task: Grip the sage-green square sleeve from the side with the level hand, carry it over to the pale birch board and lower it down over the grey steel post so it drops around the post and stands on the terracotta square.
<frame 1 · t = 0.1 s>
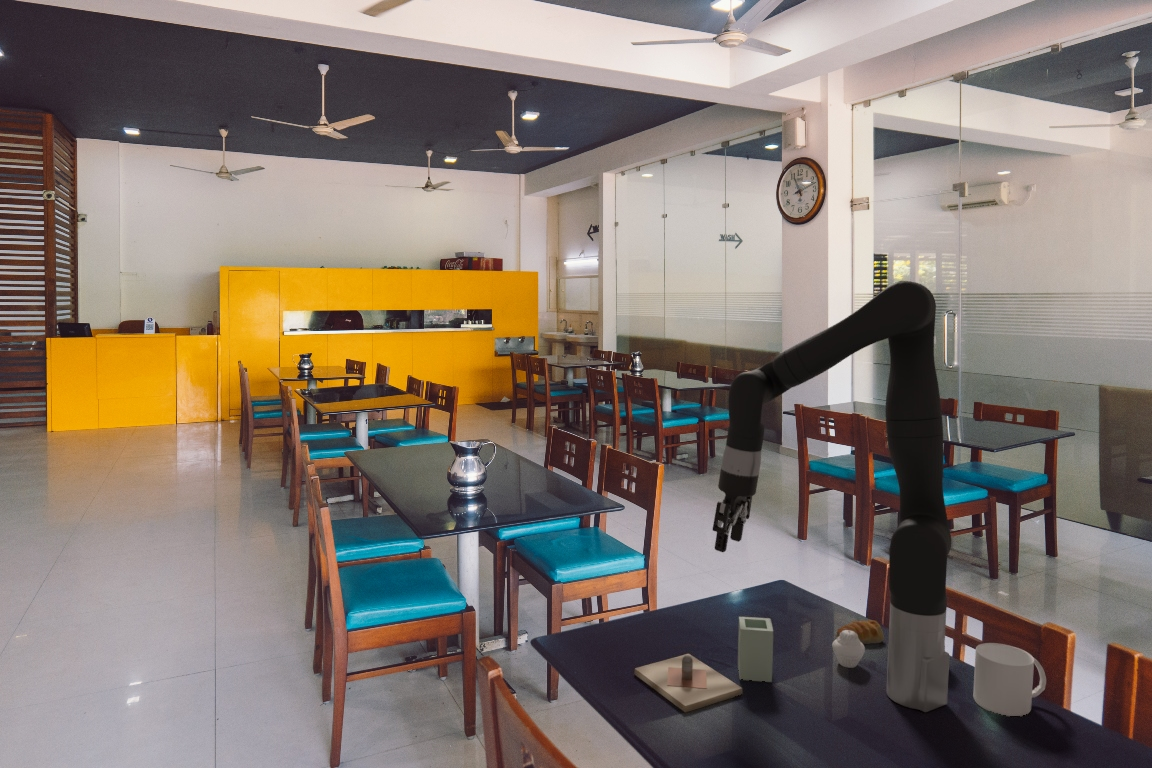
hand: (728, 545, 155), 22 cm above the table, tool pointing down, fingers open, 8 cm apart
post board: (686, 684, 143), on the table
mug: (1010, 705, 136), on the table
vase: (924, 663, 152), on the table
sleeve: (754, 673, 147), on the table
pastry: (861, 640, 163), on the table
white piece: (847, 665, 151), on the table
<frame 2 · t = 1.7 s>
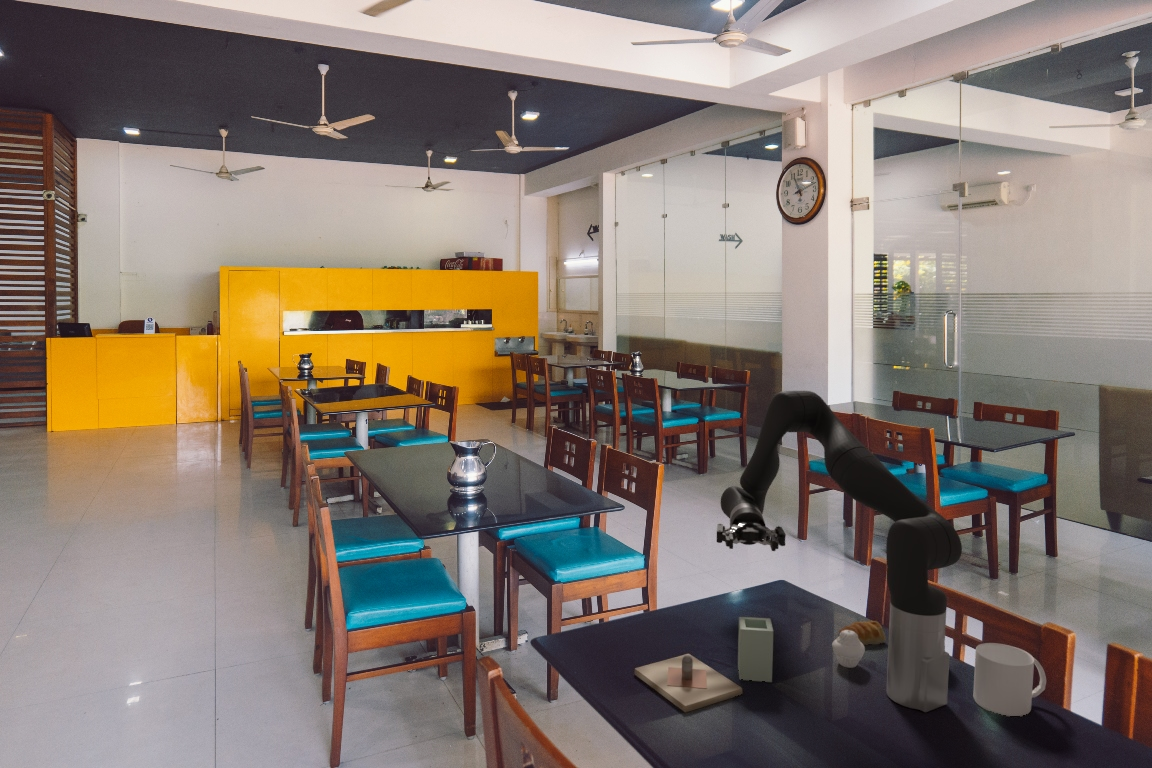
hand: (752, 545, 156), 22 cm above the table, tool horizontal, fingers open, 8 cm apart
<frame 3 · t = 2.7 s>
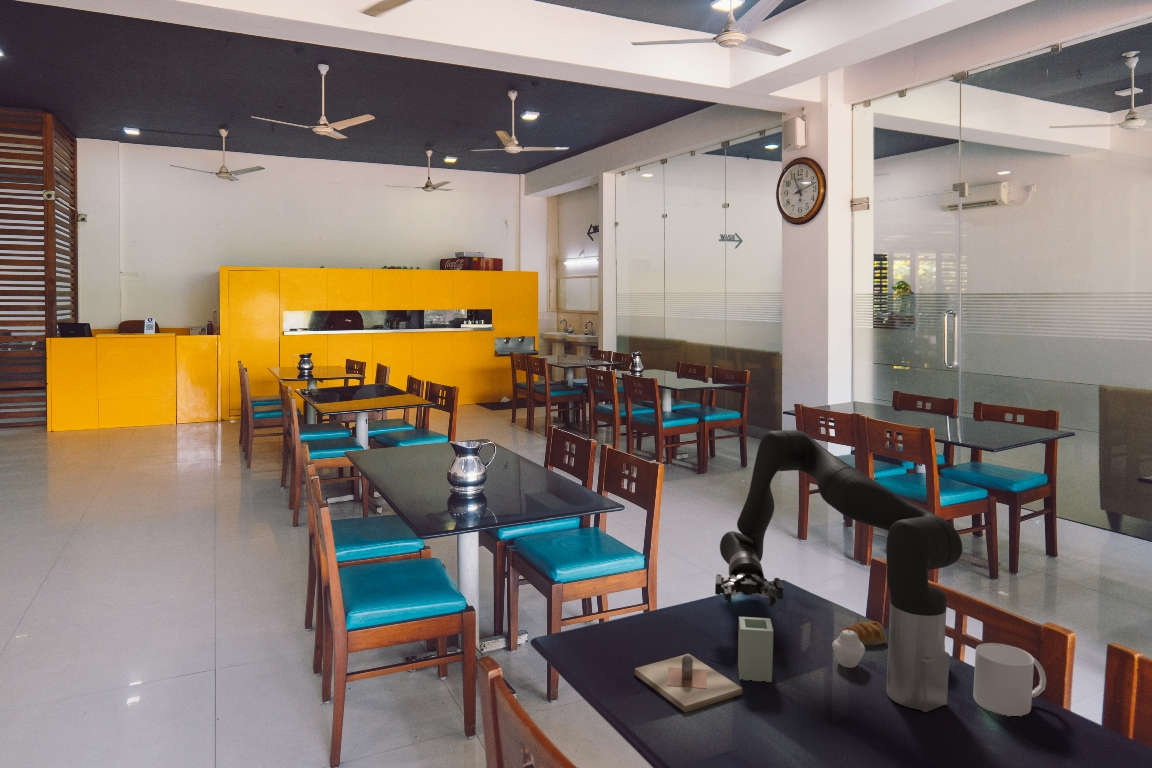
hand: (750, 599, 157), 10 cm above the table, tool horizontal, fingers open, 8 cm apart
nothing on the table moved.
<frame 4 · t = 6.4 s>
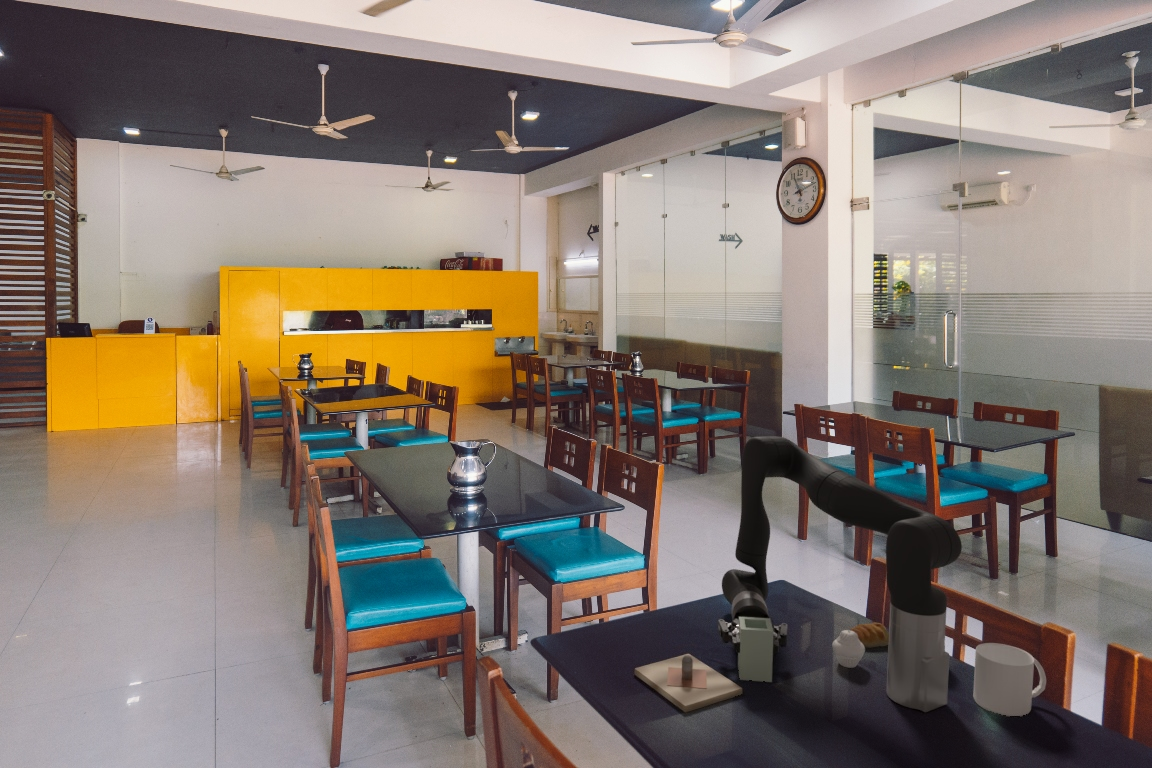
hand: (756, 649, 144), 6 cm above the table, tool horizontal, fingers closed on sleeve, 6 cm apart
sleeve: (754, 673, 147), on the table, touching gripper
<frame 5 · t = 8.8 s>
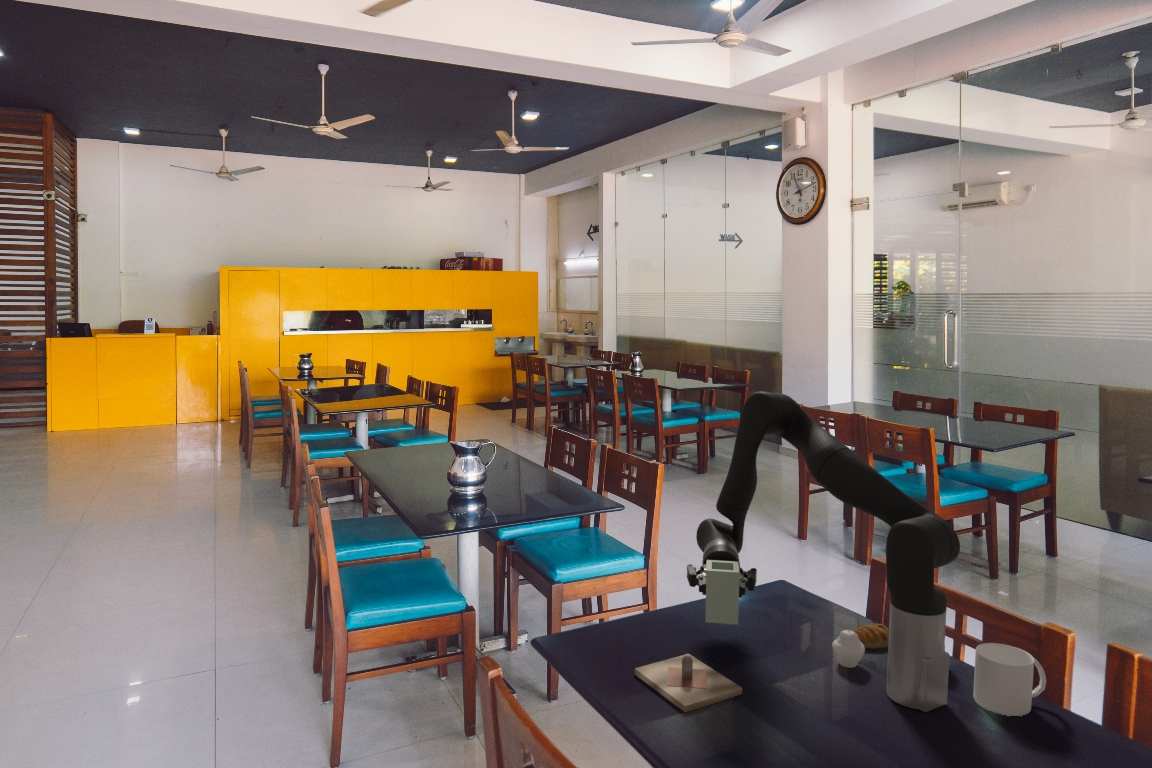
hand: (722, 591, 142), 18 cm above the table, tool horizontal, fingers closed on sleeve, 6 cm apart
sleeve: (721, 616, 145), point 12 cm above the table, touching gripper
when the fingers open (9 cm above the table, at t = 11.6 s): sleeve drops 1 cm, resting on post board.
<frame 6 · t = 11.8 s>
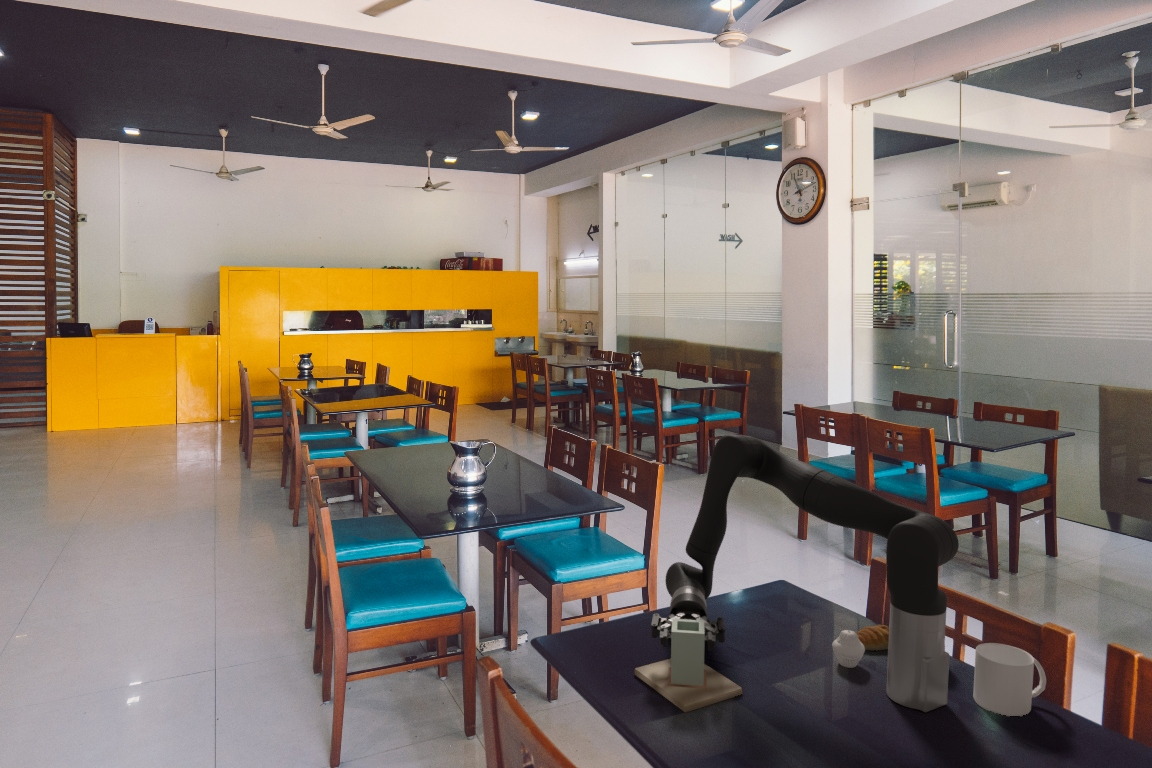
hand: (687, 644, 140), 9 cm above the table, tool horizontal, fingers open, 8 cm apart
sleeve: (687, 677, 143), point 1 cm above the table, touching post board
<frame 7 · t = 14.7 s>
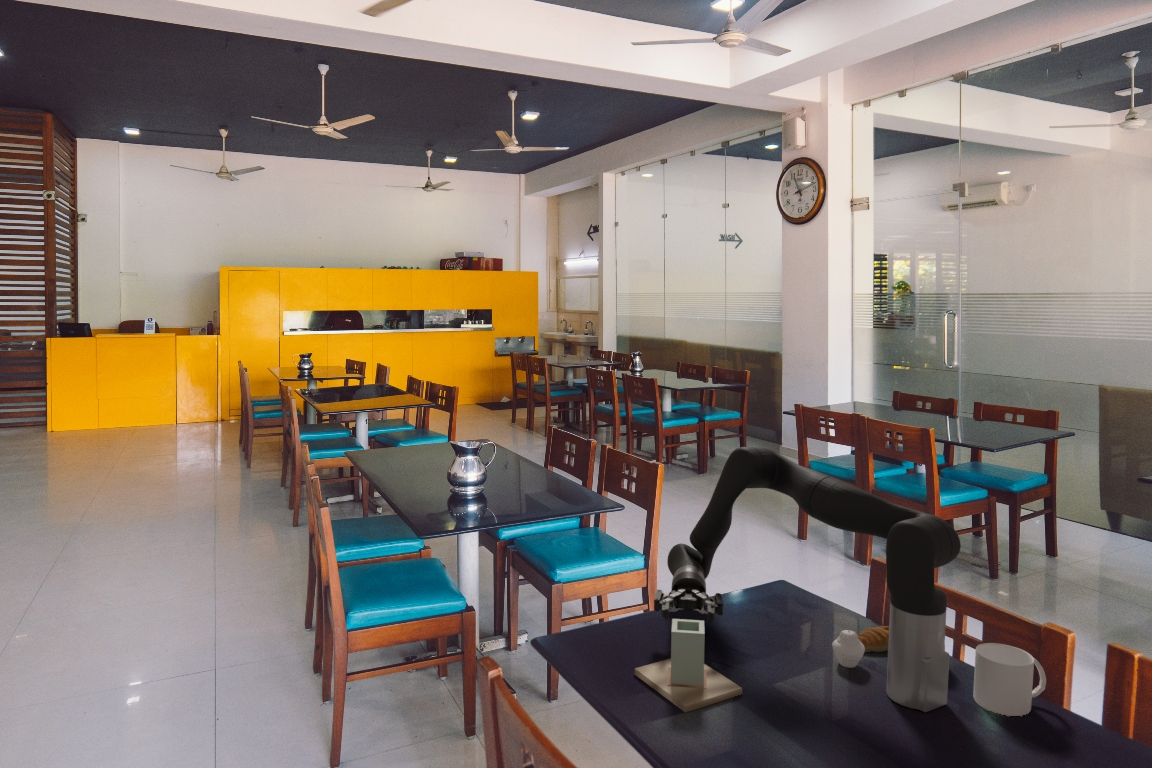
hand: (688, 616, 153), 9 cm above the table, tool horizontal, fingers open, 8 cm apart
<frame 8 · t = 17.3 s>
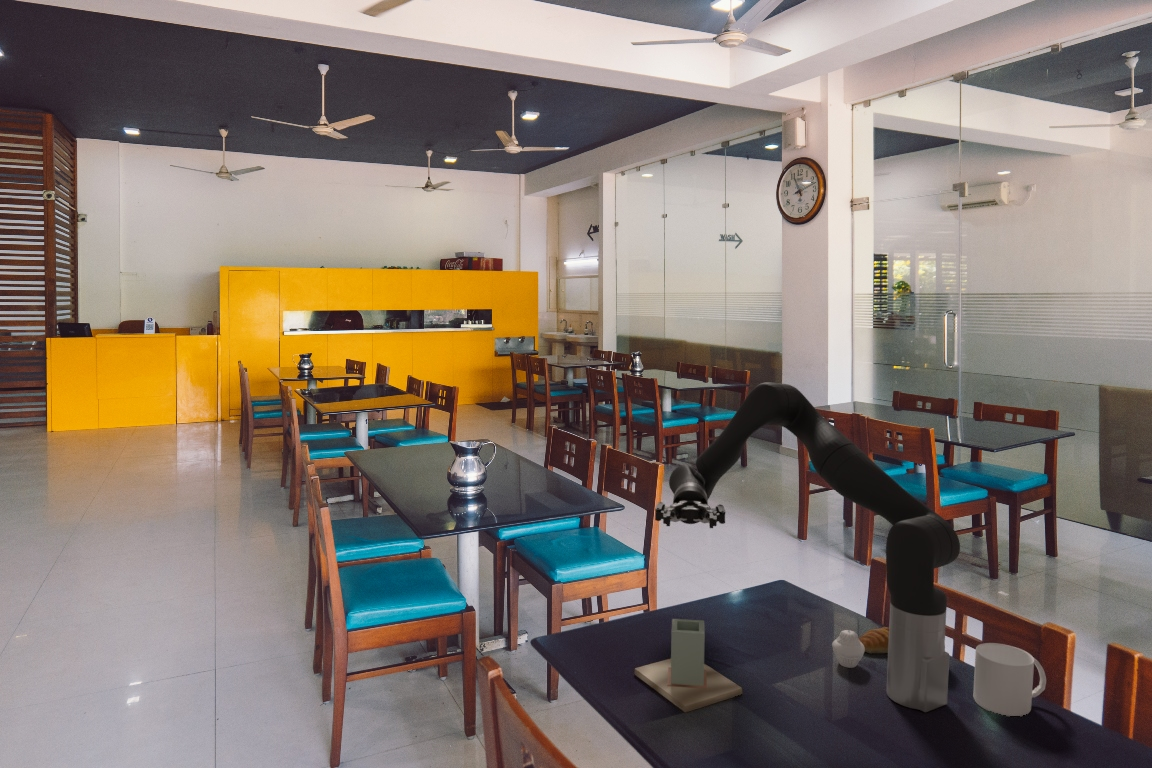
hand: (689, 522, 151), 28 cm above the table, tool horizontal, fingers open, 8 cm apart
at the end: sleeve 0.1 cm from the post board (horizontally); sleeve point 1.3 cm above the table; sleeve tilted 0° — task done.
